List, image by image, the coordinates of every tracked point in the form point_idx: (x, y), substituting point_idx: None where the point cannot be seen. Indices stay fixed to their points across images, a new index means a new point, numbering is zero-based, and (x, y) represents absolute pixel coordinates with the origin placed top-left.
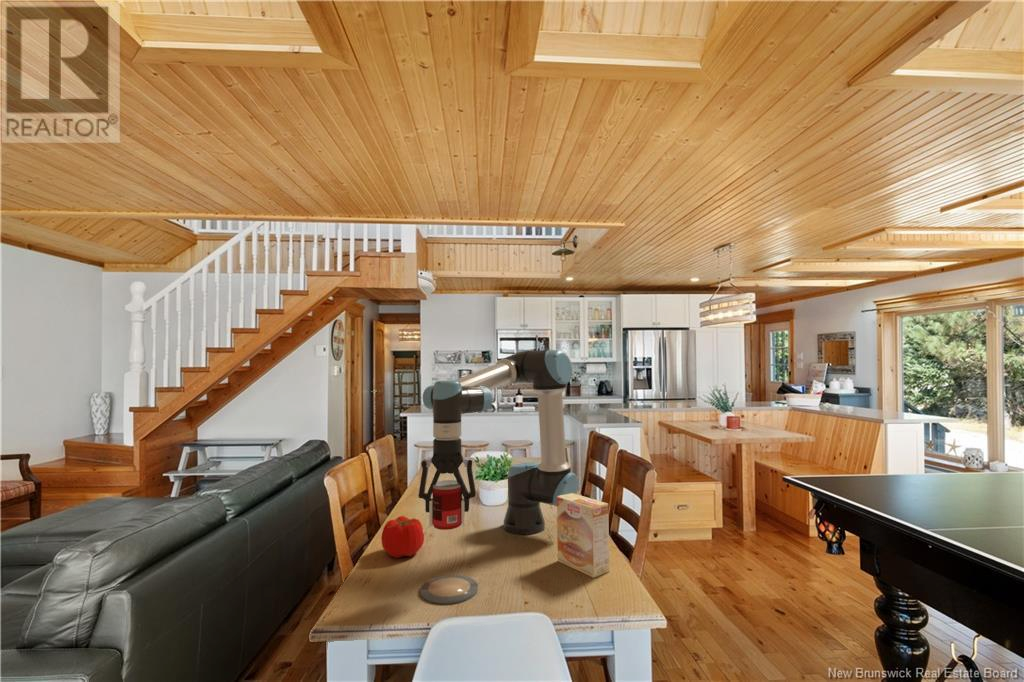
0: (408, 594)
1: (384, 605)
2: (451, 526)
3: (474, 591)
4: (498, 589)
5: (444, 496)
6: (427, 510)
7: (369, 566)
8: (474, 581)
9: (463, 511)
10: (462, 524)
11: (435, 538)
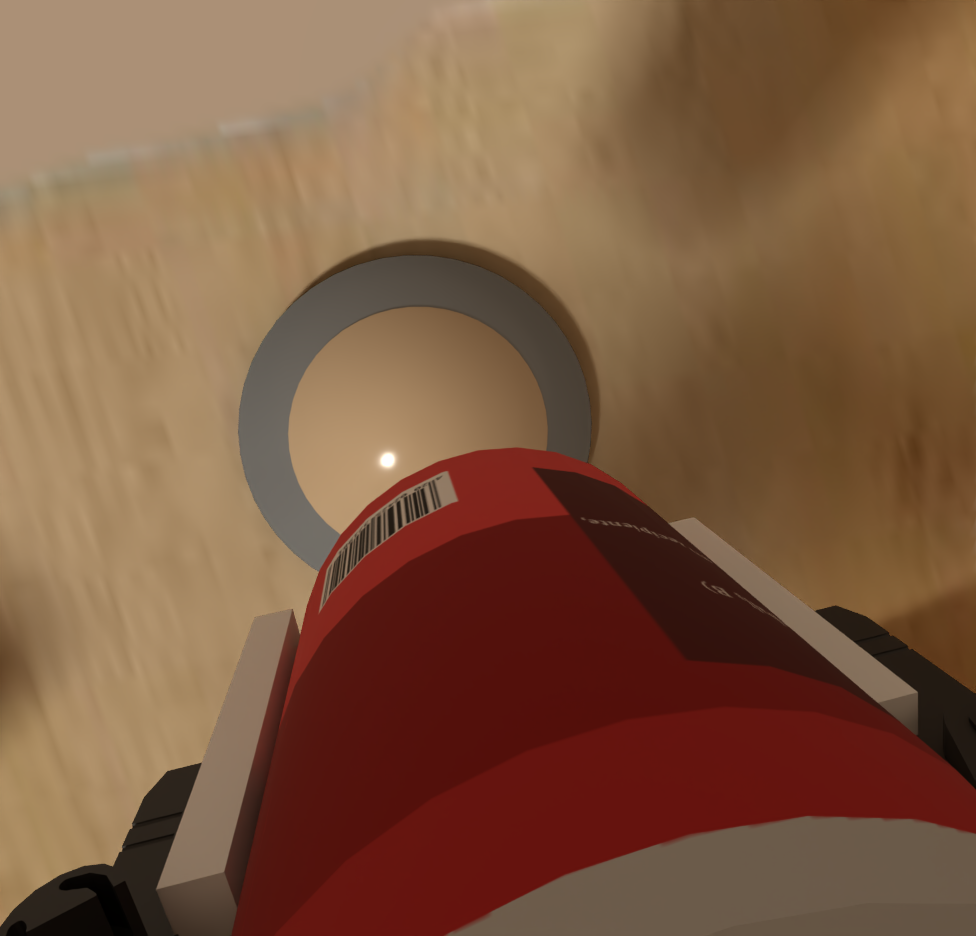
0: (643, 347)
1: (738, 196)
2: (390, 488)
3: (245, 409)
4: (118, 496)
5: (602, 674)
6: (835, 626)
7: (945, 627)
8: (288, 535)
9: (228, 727)
10: (277, 616)
11: None
